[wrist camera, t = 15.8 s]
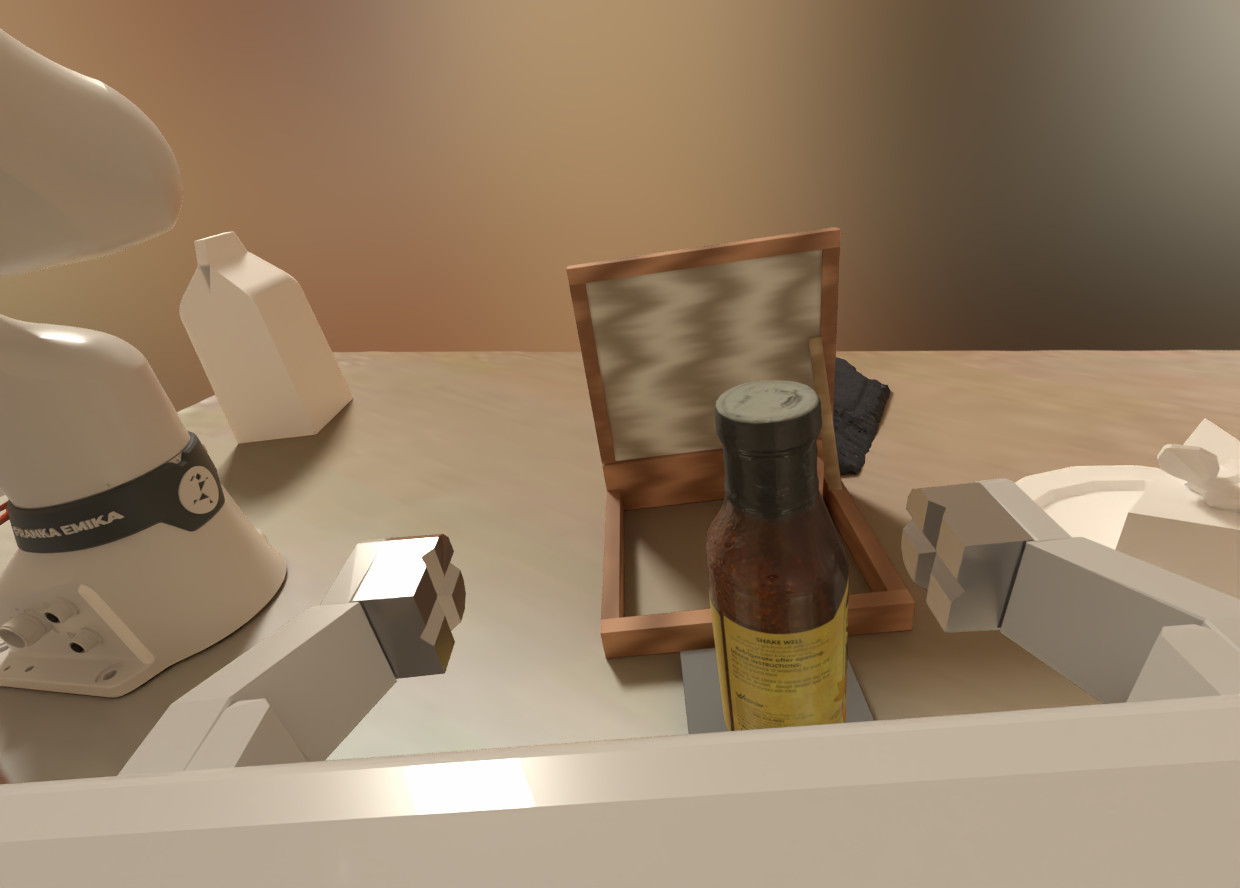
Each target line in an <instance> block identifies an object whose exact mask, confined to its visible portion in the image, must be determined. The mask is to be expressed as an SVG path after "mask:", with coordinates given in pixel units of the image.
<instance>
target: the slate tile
mask: <svg viewBox="0 0 1240 888" xmlns="http://www.w3.org/2000/svg"><path fill="white" fill-rule="evenodd" d="M680 656H681V666H682V675H683V684H684V694H685V703H686V713H687V722H688V731H689V734H699V733H712V732H726V731H728V729H727V726H726V723H725V719H724V714H723V706H722V698H721V690H720V681H719V673H718V665H717V657H716V648H707V649H697V650H686V651H680ZM847 658H848V657H847ZM864 721H874V719H873V717H872V714H871V712H870V709H869V707H868V705H867V702H866V700H865V698H864V695H863V693H862V690H861V688H860V686H859V683H858V681H857V678H856V676H855V674H854V671H853V669H852V666H851V664H850V662H849V659H848V660H847V682H846V723H850V722H864Z"/></svg>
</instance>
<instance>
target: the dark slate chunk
mask: <svg viewBox="0 0 1240 888" xmlns="http://www.w3.org/2000/svg"><path fill="white" fill-rule="evenodd" d="M889 393H890V389H889V387H888V385H883V384H881V383H880V382H878V381H877V380H875V379H873V380H871V379H868V378H866V377H865V376H863V375H862V374H861V373H859V372H857V371H856V369H855V367H854V366H852V365H851V364H849V363H848V362H847V361H846V360H844V359H840V358H835V384H834V409H833V426H834V434H835V441H836V449H837V456H838V464H839V471H840V474H847V473H853V474H857V473H858V472H859V471H860V469H861V467H862V466H863V465H864V464H865V454H866V453H867V452H868V451H869V448H870V447H871V442H872V441H873V440H874V437H875V435H876V433H877V430H878V426H879V424H878V423H880V419H881V417H882V414H883V411H884V407H885V404H886V401H887V399H888V398H889Z"/></svg>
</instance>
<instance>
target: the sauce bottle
mask: <svg viewBox="0 0 1240 888" xmlns="http://www.w3.org/2000/svg"><path fill="white" fill-rule="evenodd" d="M821 413H822V411H821V400H820V398H819V396H818V395H817V393H816V392H815V391H814V390H813V389H811V388H810V387H809V386H807V385H805V384H801V383H798V382H791V381H779V380H768V381H756V382H749V383H745V384H741V385H738V386H736V387H733V388H731V389H729V390H727V391H726V392H724V393H723V394H722V395H720V397H719V398H718V400H717V401H716V402H715V424H716V433H717V435H718V437H719V439H720V441H721V443H722V445H723V455H724V466H725V476H726V478H725V484H724V488H725V498H724V501H723V504H722V507H721V509H720V511H719V512H718V513H717V514H716V515H715V517H714V519H713V521H712V523H711V525H710V526H709V529H708V531H707V534H706V535H707V545H706V554H707V561H708V570H709V578H710V582H709V599H710V608H711V616H712V624H713V632H714V640H715V648H716V657H717V665H718V673H719V681H720V690H721V698H722V706H723V714H724V719H725V723H726V726H727V729H728V731H740V730H753V729H767V728H781V727H794V726H808V725H822V724H836V723H846V682H847V660H848V658H847V655H848V647H847V637H848V599H849V595H848V590H849V580H848V560H847V556H846V553H845V550H844V548H843V546H842V543H841V541H840V539H839V536H838V534H837V531H836V529H835V527H834V524H833V522H832V519H831V517H830V515H829V512H828V510H827V507H826V505H825V502H824V500H823V498H822V495H821V493H820V490H819V479H818V477H817V452H818V450H817V442H816V441H817V438H818V436H819V433H820V431H821V428H822V417H821Z"/></svg>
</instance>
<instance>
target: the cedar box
mask: <svg viewBox="0 0 1240 888" xmlns="http://www.w3.org/2000/svg"><path fill="white" fill-rule="evenodd" d="M840 231H841V230H840V229H838V228H836V227H833V228H826V229H819V230H812V231H806V232H799V233H792V234H785V235H778V236H771V237H765V238H758V239H751V240H744V241H737V242H730V243H724V244H716V245H709V246H703V247H696V248H689V249H683V250H675V251H668V252H662V253H655V254H648V255H641V256H634V257H627V258H621V259H614V260H607V261H600V262H593V263H586V264H579V265H572V266H568V267H567V275H568V280H569V286H570V291H571V297H572V302H573V308H574V313H575V319H576V324H577V329H578V335H579V340H580V346H581V351H582V357H583V362H584V368H585V373H586V379H587V384H588V389H589V395H590V400H591V406H592V411H593V417H594V422H595V428H596V433H597V438H598V444H599V449H600V455H601V460H602V464H603V472H604V477H605V482H606V488H607V501H606V523H605V545H604V567H603V589H602V611H601V638H602V642H603V647H604V651H605V656H606V659H608V658H619V657H629V656H640V655H650V654H661V653H671V652H680V651H686V650H697V649H707V648H715V640H714V632H713V624H712V616H711V609H702V610H692V611H682V612H672V613H662V614H652V615H642V616H632V617H624V510H632V509H641V508H650V507H659V506H667V505H676V504H685V503H694V502H703V501H711V500H720V499H724V498H725V488H724V484H725V478H726V476H725V466H724V455H723V445H722V443H721V441H720V439H719V437H718V435H717V433H716V424H715V402H716V401H717V400H718V398H719V397H720V395H722V394H723V393H724V392H726V391H727V390H729V389H731V388H733V387H736V386H738V385H741V384H745V383H749V382H756V381H768V380H779V381H791V382H798V383H801V384H805V385H807V386H809V387H810V388H811V389H813V390H814V391H815V392H816V393H817V395H818V396H819V398H820V400H821V411H822V413H821V417H822V428H821V431H820V433H819V436H818V438H817V441H816V442H817V450H818V452H817V456H818V457H819V458H820V459H821V460H822V461H823V463H824V479H823V500H824V502H825V504H826V506H827V508H828V510H829V512H830V514H831V516H832V518H833V520H834V521H835V523H836V525H837V527H838V529H839V531H840V533H841V535H842V537H843V538H844V540H845V542H846V544H847V546H848V548H849V550H850V552H851V554H852V556H853V557H854V559H855V561H856V563H857V565H858V567H859V569H860V571H861V573H862V574H863V576H864V578H865V580H866V582H867V584H868V586H869V588H870V590H871V591H872V593H862V594H852V595H849V599H848V636H850V635H861V634H872V633H882V632H893V631H903V630H912V624H913V616H914V609H915V601H914V599H913V598H912V596H911V594H910V593H909V591H908V589H907V588H906V586H905V584H904V583H903V581H902V579H901V578H900V576H899V574H898V573H897V571H896V570H895V568H894V566H893V565H892V563H891V561H890V560H889V558H888V556H887V555H886V553H885V551H884V550H883V548H882V547H881V545H880V543H879V542H878V540H877V538H876V537H875V535H874V533H873V532H872V530H871V528H870V527H869V525H868V523H867V522H866V520H865V519H864V517H863V515H862V514H861V512H860V510H859V509H858V507H857V505H856V504H855V502H854V500H853V499H852V497H851V496H850V494H849V492H848V491H847V489H846V487H845V486H844V484H843V482H842V481H841V479H840V471H839V464H838V456H837V449H836V441H835V434H834V426H833V409H834V384H835V358H836V333H837V307H838V282H839V256H840Z"/></svg>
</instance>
